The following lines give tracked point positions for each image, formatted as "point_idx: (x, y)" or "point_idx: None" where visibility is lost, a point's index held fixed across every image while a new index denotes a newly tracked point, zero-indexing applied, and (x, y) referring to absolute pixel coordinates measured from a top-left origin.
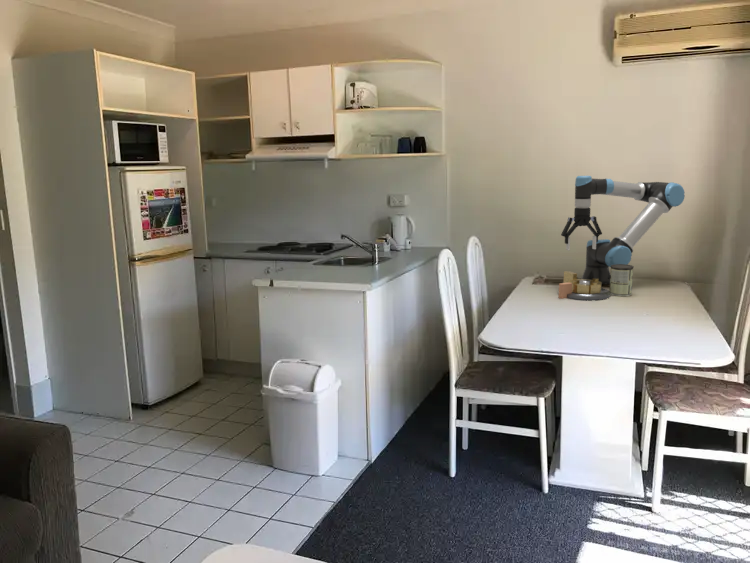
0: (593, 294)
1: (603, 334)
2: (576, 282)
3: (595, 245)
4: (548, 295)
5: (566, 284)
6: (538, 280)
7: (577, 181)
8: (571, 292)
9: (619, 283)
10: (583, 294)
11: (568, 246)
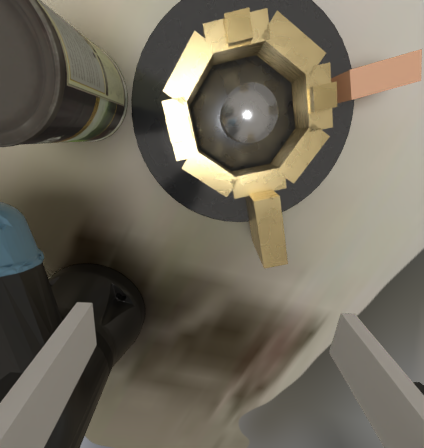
0: None
1: None
2: (313, 87)
3: (62, 330)
4: (379, 147)
5: (389, 59)
6: (270, 365)
7: None
8: None
9: (77, 31)
10: None
11: (380, 344)
